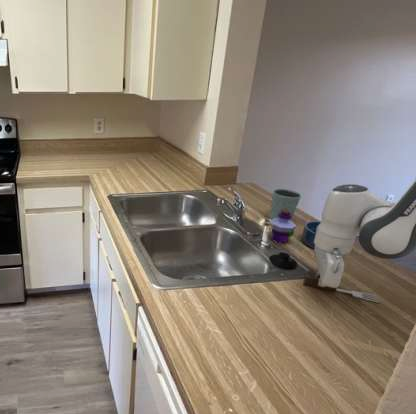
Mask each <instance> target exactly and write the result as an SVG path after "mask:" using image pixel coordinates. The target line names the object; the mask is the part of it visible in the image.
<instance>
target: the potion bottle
mask: <svg viewBox="0 0 416 414" xmlns="http://www.w3.org/2000/svg"><path fill="white" fill-rule="evenodd" d="M290 212H291V211H290V210H287V209H282V210H281V212H279V213H278V217H279V218H274V219H272V220H271V222H272V224H273V229H272V232H271V231H270V238H271V237H272V239H273V240H275V241H277V242H276V243H278V242H281V243H280V244H286V243H288V240H289V239H290V238H291V237H292V236H293V235H294V233H295V230H296V228H297V225H296V224H295V222H294V221H293V220H292V221H289V219H291V218H292V214H291V213H290ZM292 219H293V218H292ZM272 239H271V240H272ZM273 240H272V241H273ZM275 241H274V242H275Z"/></svg>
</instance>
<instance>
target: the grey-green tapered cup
mask: <svg viewBox="0 0 416 414" xmlns="http://www.w3.org/2000/svg"><path fill="white" fill-rule="evenodd" d="M301 197H302V194H301V193H300V192H298V191H295V190H292V189H287V188H275V189H273V190H272V196H271V203H270V210H269V214H268V219H269V218H270V219H271V220H272V219H274V218H279V217H278V213H279V212H281V210H282V209H287V210H290V211H291V212H290V213H291V214H292V218H291V219H289V221H292V222H293V218H294V214H295V212H296V210H297V207H298V204H299V202H300V200H301ZM270 219H269V220H270Z"/></svg>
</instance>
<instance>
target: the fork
mask: <svg viewBox="0 0 416 414" xmlns="http://www.w3.org/2000/svg"><path fill="white" fill-rule="evenodd" d="M316 276H317V275H316ZM316 276H315V275H311V274H306V273H305V275H304V277H303V280H302V284H303V286H306V287H311V288H314V289H318V290H319V289H320V290H324V291H329V292H332V293H339V294H345V295H349V296H351V297H352V298H354V299H359V300H362V301H367V302H369V303H370V302H371V303H375V304H380V299H379V298H378V295H376V294H372V293H367V292H362V291H357V290H346V289H342V288H338V287H337V288H332V287H328V286H325V287H321V286H319V285H318V279H319V278H320V277H316Z"/></svg>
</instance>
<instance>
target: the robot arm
mask: <svg viewBox="0 0 416 414" xmlns="http://www.w3.org/2000/svg"><path fill="white" fill-rule="evenodd" d="M320 222H321V223H320V224H319V226H317V228H316V235H315V239H314V244H315V249H314V248H313V249H314V250H313V251H314V255H315V260H316V264H317V272H316V277H320V278H319V279H318V285H319V286H321V287H325V286H328V287H332V288H337V289H338V288H339V286H340V284H341V281H342V277H343V274H344V269H345V260H344V258H343V257H344V256H345V255H348V254H350V253H351V252H352V251H353V248H354V245H355V243H356V239H357V236H358V243H359V245H360V246H361V248H362V249H363V251H365V252H366V253H368V254H369V255H370V256H373V257H376V258H379V259H385V260H396V259H400V258H404V257H406V256H408V255H410V254H411V253H412V252H413V251H415V249H416V177H415V178H414V180H413V181H412V183H411V184H410V185H409V186H408V188H406V190H405V191H404V192H403V194H402V195H401V196H400V197H399V199H398V200H397V201H396V202H395V203H394V202H391V201H389V200H386V199H384V198H382V197H379V196H378V195H377V194H375V193H373V192H372V191H371V190H370V189H369V188H368V187H366V186H364V185H359V184H341V185H338V186H336V187H334V188H333V189H332V190H330V192H329V194H328V195H327V198H326V199H325V203H324V205H323V209H322V212H321V220H320Z"/></svg>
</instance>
